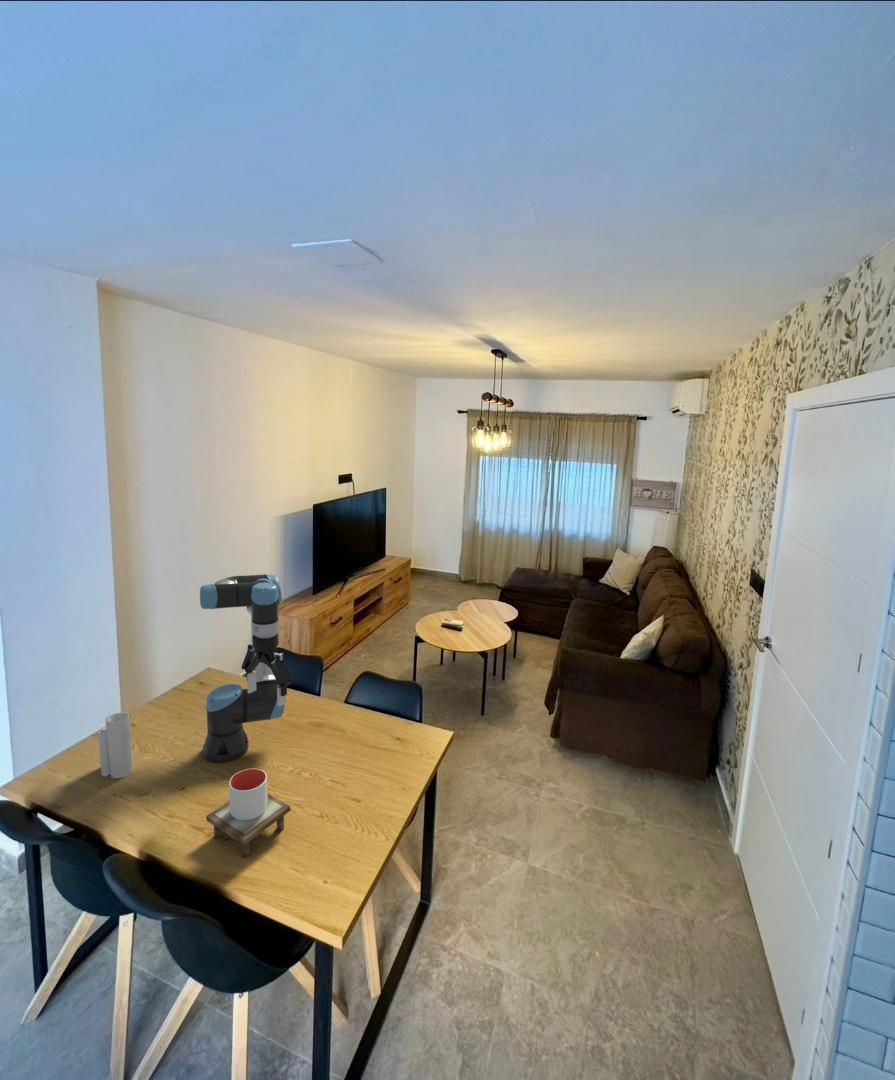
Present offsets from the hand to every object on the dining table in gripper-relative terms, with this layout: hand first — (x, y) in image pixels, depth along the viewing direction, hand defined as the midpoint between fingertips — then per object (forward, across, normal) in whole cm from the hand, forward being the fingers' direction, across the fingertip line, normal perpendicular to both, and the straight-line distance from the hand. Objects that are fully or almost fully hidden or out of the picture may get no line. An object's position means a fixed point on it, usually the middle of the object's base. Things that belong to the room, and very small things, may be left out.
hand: (266, 698), depth 165 cm
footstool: (+32, +11, -16) cm, 37 cm away
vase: (+32, -47, -23) cm, 61 cm away
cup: (+25, +11, -16) cm, 31 cm away
